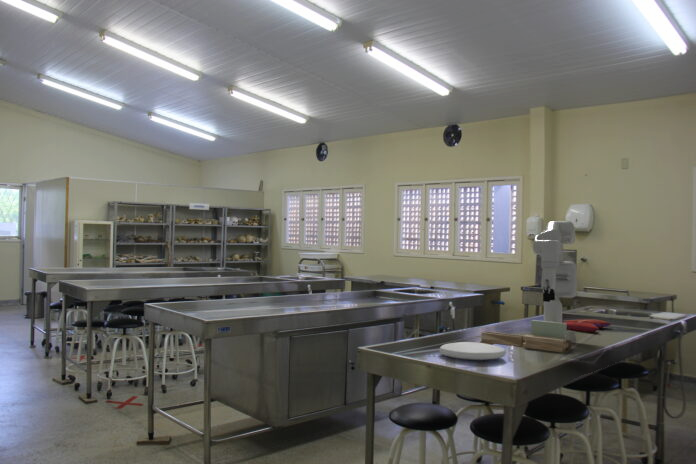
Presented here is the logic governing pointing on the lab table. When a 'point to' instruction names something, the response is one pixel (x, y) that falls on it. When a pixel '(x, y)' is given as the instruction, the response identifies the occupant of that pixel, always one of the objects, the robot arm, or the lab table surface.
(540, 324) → the tall sheet
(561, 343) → the rack
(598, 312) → the lab table surface
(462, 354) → the plate
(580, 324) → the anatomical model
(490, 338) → the cradle
